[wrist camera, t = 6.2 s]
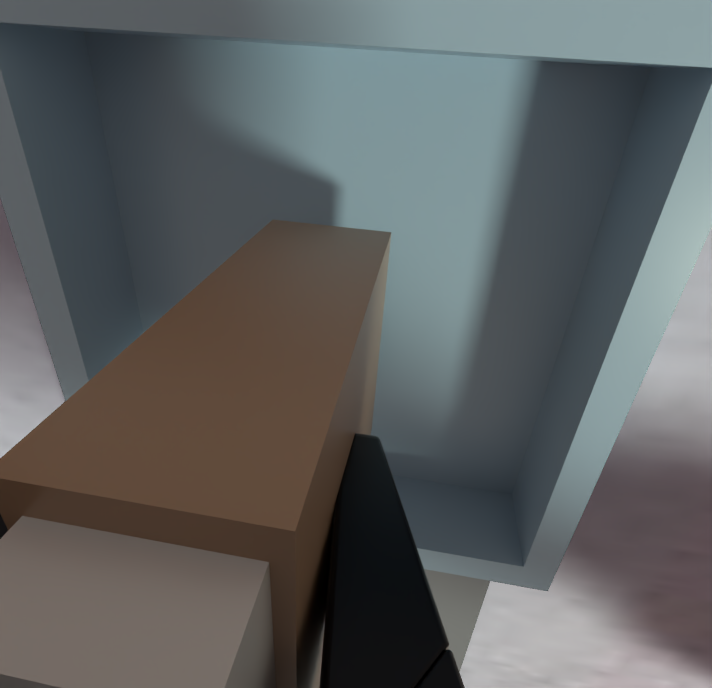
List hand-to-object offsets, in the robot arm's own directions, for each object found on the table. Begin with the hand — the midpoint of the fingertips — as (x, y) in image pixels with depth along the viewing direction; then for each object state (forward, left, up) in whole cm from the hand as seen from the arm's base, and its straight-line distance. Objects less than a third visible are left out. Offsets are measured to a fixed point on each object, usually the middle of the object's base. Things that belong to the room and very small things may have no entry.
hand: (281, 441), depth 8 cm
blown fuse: (0, 0, -4) cm, 4 cm away
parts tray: (0, 0, -6) cm, 6 cm away
